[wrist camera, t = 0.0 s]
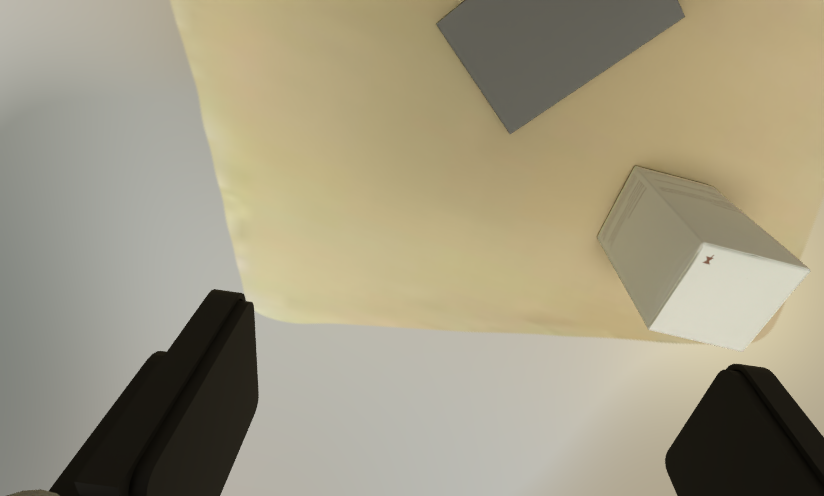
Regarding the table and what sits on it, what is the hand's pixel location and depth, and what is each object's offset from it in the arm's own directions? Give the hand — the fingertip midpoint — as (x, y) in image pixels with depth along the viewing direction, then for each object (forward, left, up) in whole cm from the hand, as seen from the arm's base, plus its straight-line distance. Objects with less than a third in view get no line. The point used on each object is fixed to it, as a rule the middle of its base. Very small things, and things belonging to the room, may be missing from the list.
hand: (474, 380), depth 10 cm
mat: (-5, +7, -31) cm, 32 cm away
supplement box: (+9, +19, -32) cm, 38 cm away
